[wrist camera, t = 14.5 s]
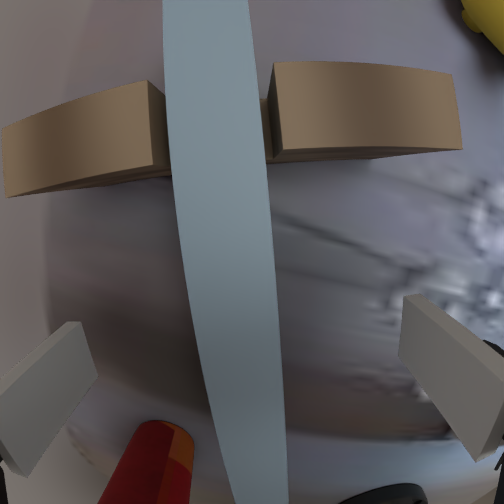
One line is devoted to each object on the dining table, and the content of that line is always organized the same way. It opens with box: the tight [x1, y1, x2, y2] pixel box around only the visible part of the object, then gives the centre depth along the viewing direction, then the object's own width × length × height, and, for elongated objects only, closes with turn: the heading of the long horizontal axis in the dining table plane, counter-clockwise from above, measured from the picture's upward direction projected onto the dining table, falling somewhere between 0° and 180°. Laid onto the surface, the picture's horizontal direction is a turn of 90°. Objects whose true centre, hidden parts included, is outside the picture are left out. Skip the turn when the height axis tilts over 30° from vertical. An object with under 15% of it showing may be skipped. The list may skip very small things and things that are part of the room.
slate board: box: [163, 0, 289, 504], centre depth 16 cm, size 26×3×10 cm, turn 5°
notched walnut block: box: [2, 61, 463, 198], centre depth 14 cm, size 18×3×10 cm, turn 95°
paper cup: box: [97, 420, 194, 504], centre depth 18 cm, size 8×8×14 cm
